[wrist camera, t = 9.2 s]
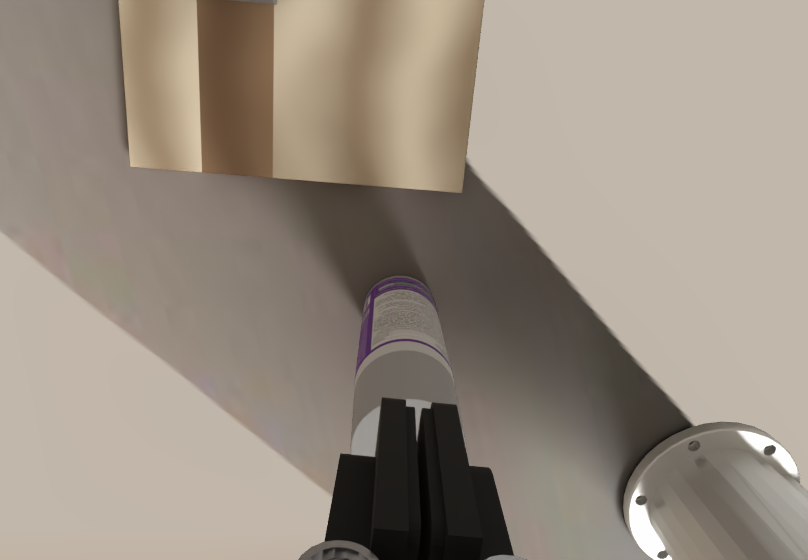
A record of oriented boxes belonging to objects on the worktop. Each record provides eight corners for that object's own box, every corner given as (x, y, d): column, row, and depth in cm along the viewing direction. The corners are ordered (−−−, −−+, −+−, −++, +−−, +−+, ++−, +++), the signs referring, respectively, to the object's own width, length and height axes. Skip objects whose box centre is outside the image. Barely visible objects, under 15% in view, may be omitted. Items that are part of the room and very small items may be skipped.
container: (402, 355, 36) (413, 519, 21) (348, 312, 35) (321, 456, 20) (450, 305, 35) (494, 443, 20) (396, 260, 34) (402, 372, 19)
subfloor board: (494, -120, 28) (499, -130, 26) (459, 189, 32) (461, 192, 31) (118, -162, 27) (106, -174, 25) (139, 164, 31) (130, 166, 30)
